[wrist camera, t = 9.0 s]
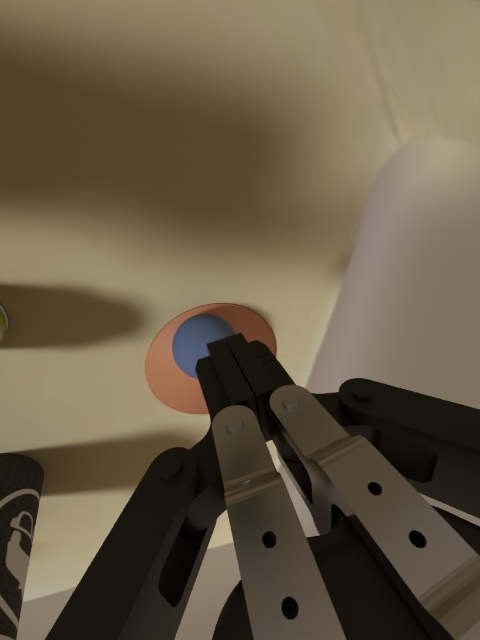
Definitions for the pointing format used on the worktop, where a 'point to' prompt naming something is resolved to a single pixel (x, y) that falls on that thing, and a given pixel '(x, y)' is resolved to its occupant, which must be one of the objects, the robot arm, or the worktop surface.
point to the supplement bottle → (3, 323)
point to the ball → (197, 340)
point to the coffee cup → (16, 533)
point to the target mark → (171, 379)
